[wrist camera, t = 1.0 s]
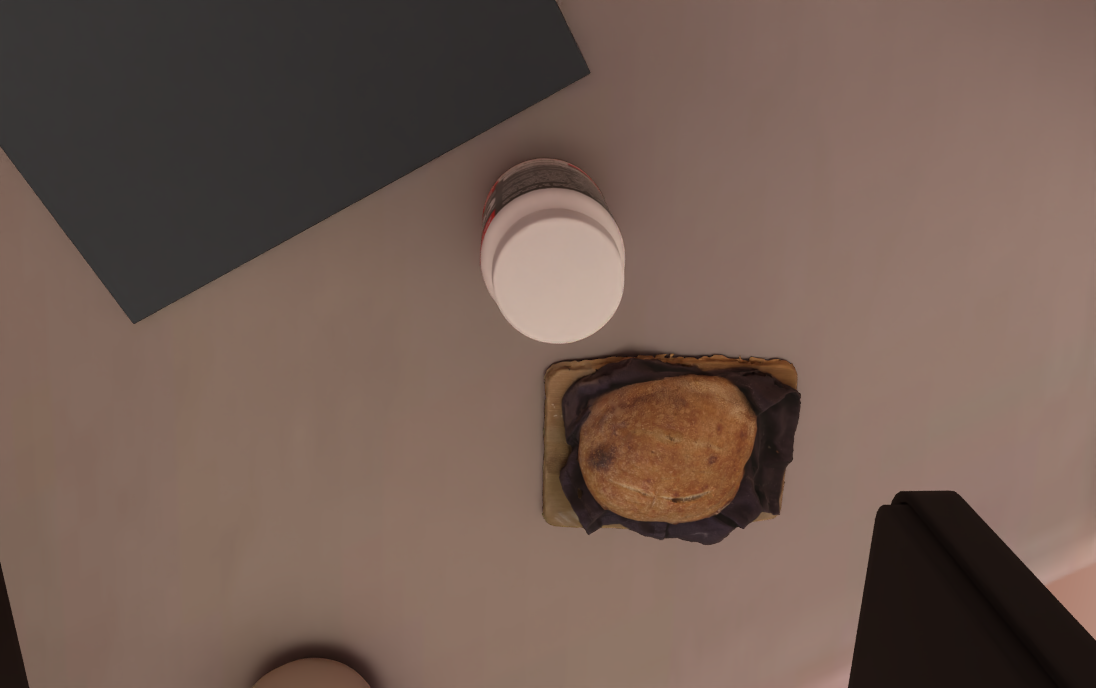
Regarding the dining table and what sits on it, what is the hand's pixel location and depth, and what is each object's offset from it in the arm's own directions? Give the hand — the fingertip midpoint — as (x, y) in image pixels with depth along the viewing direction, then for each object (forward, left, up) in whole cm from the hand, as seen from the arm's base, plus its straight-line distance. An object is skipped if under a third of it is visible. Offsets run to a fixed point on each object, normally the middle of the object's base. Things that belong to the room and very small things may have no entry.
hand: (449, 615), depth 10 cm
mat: (+5, -9, -27) cm, 28 cm away
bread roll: (-1, +14, -27) cm, 30 cm away
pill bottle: (-1, +3, -27) cm, 27 cm away
